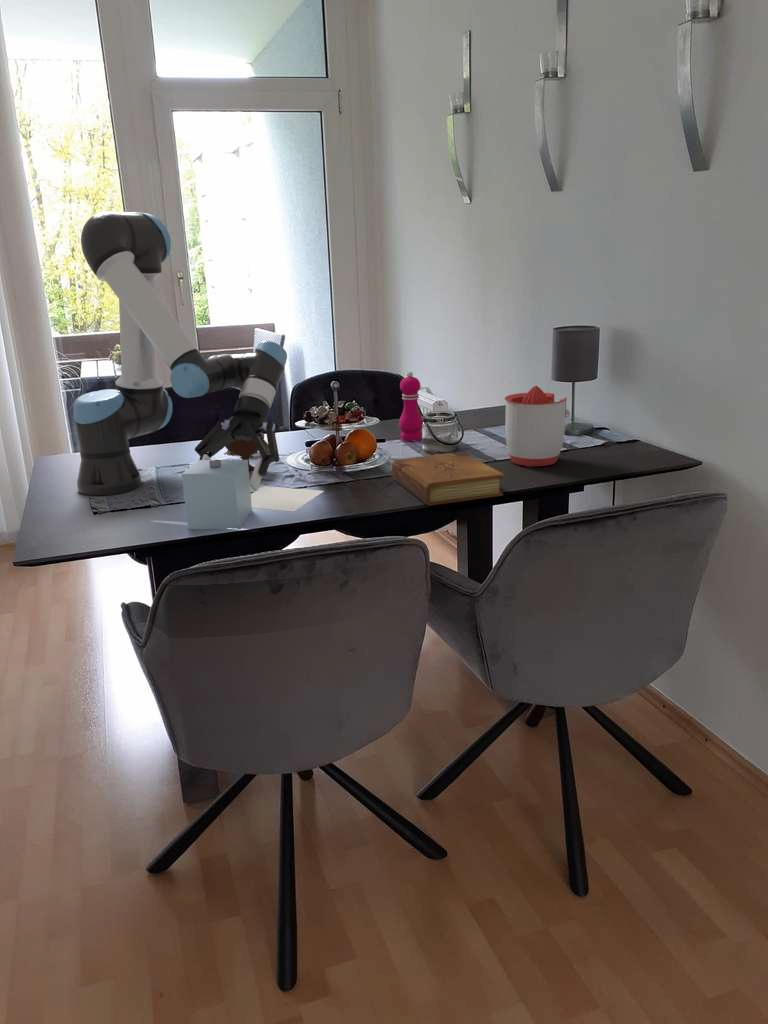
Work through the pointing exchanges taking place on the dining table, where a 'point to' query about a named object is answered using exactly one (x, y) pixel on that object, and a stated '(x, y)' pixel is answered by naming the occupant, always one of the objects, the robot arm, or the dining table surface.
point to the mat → (282, 498)
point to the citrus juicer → (534, 427)
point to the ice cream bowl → (244, 448)
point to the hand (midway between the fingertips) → (225, 485)
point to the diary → (447, 478)
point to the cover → (217, 494)
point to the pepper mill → (410, 409)
